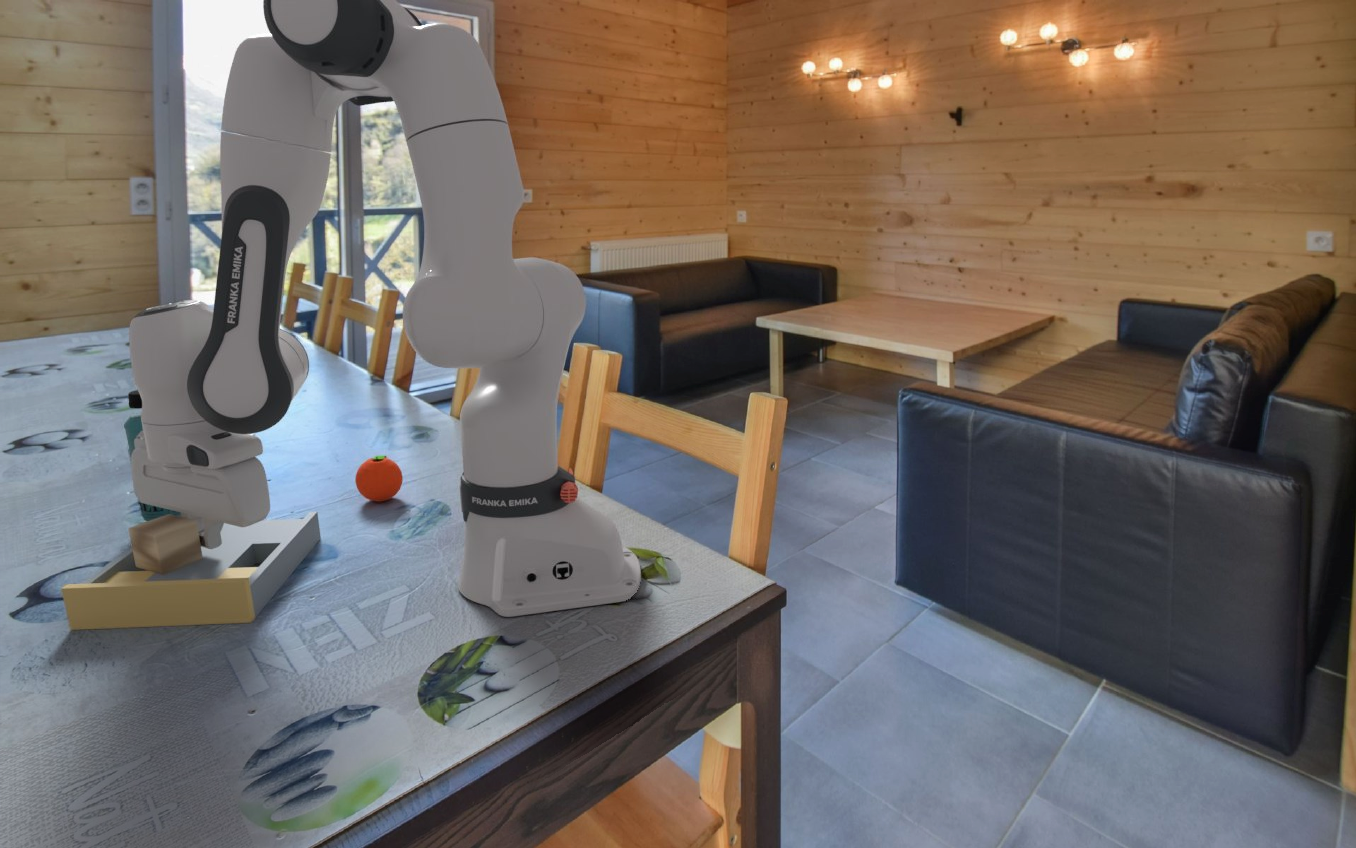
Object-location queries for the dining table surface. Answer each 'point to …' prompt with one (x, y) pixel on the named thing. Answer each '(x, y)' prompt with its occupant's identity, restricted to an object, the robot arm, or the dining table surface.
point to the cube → (165, 543)
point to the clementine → (379, 478)
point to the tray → (196, 581)
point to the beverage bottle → (132, 430)
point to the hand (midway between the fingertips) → (207, 545)
